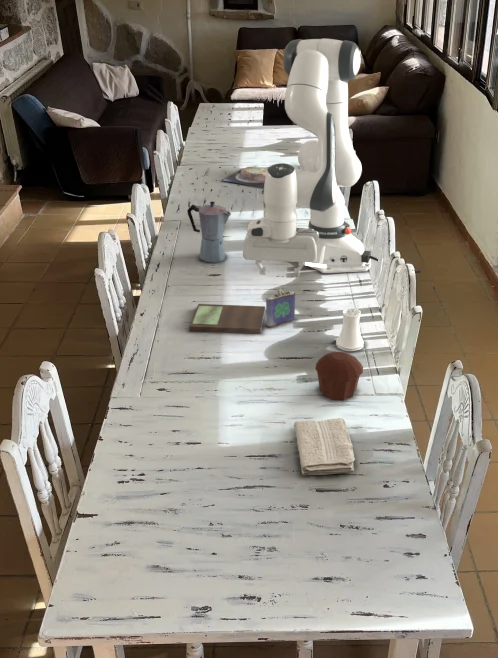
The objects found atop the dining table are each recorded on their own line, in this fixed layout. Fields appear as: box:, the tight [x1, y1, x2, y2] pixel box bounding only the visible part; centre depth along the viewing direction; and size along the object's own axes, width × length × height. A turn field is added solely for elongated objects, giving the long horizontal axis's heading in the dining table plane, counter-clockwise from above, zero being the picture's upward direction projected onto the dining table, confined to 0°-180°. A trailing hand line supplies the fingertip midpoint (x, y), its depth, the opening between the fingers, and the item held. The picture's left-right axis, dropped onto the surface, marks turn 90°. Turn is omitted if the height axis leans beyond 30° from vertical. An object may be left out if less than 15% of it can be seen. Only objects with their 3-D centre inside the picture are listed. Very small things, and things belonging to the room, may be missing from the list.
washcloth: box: [293, 417, 356, 476], centre depth 160 cm, size 12×18×3 cm, turn 7°
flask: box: [265, 287, 296, 328], centre depth 207 cm, size 9×3×11 cm, turn 121°
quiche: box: [222, 165, 267, 189], centre depth 321 cm, size 21×20×4 cm
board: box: [189, 303, 266, 335], centre depth 210 cm, size 20×14×2 cm
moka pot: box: [186, 201, 232, 264], centre depth 243 cm, size 10×15×20 cm, turn 78°
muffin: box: [315, 350, 364, 401], centre depth 178 cm, size 12×11×10 cm
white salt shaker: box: [335, 307, 365, 352], centre depth 197 cm, size 8×8×10 cm
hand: (279, 274), depth 202 cm, fingers open, 8 cm apart
